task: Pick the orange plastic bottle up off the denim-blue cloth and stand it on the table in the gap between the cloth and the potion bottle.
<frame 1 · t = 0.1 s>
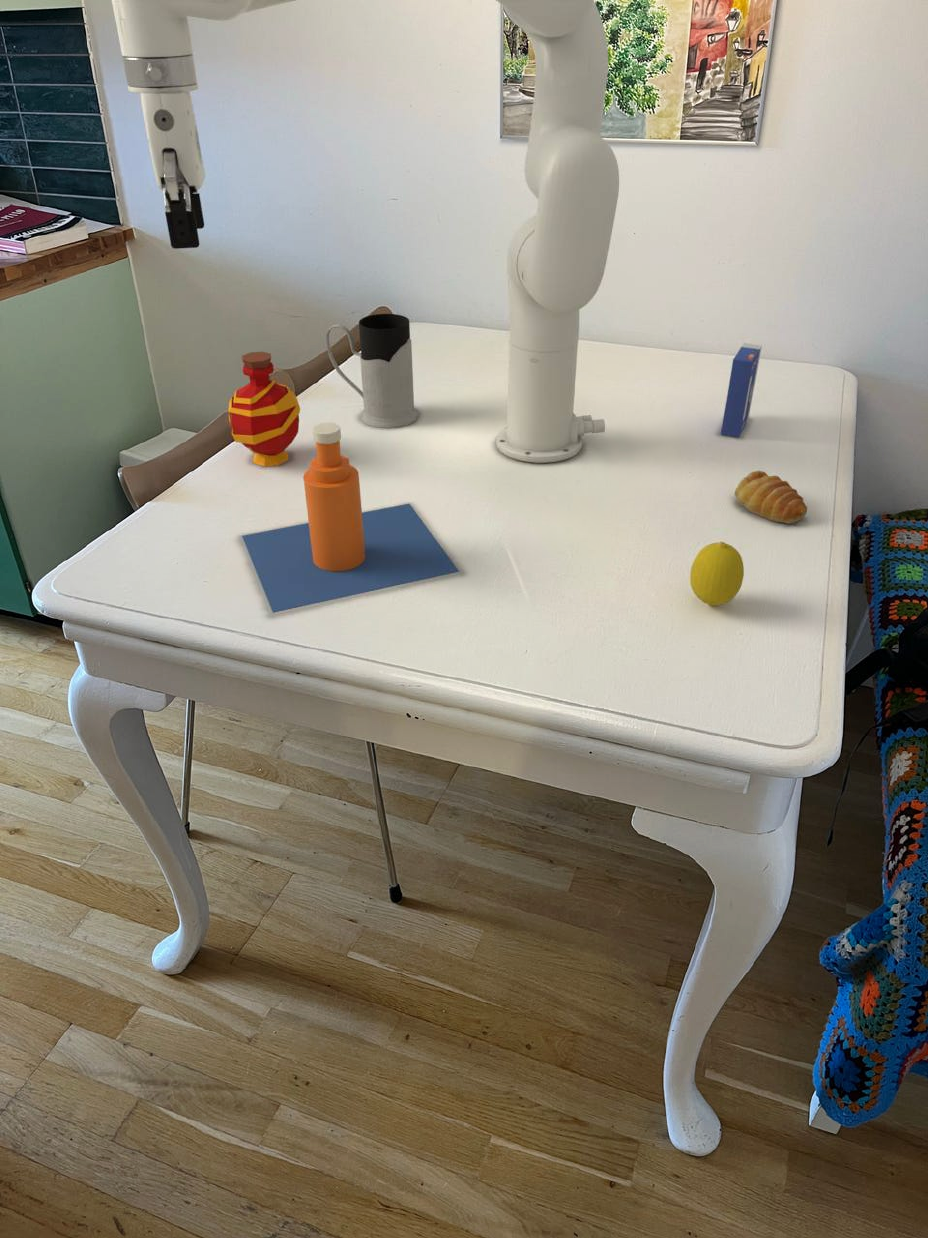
hand: (188, 237, 112), 31 cm above the table, tool pointing down, fingers open, 9 cm apart
walkman: (734, 428, 141), on the table
potion bottle: (271, 459, 134), on the table
pastry: (768, 508, 120), on the table
cloth: (347, 555, 111), on the table
bottle: (339, 557, 110), resting on cloth
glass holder: (373, 415, 146), on the table
lemon: (711, 606, 102), on the table
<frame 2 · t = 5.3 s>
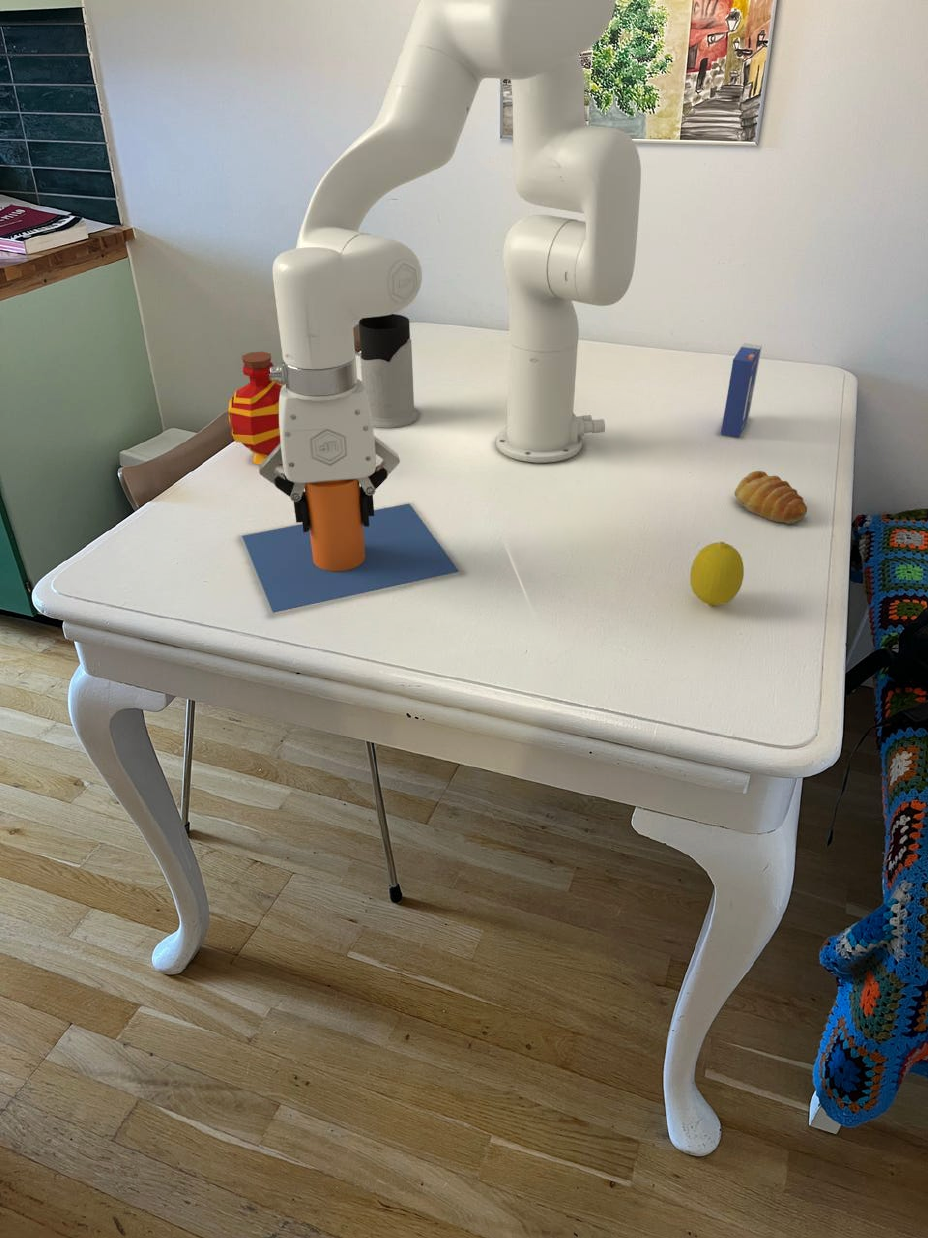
hand: (335, 522, 107), 5 cm above the table, tool pointing down, fingers closed on bottle, 6 cm apart
bottle: (339, 557, 110), resting on cloth, touching gripper
everything else where it was.
when the fingers open (5 cm above the table, at t = 13.0 s): bottle stays where it is, on the table.
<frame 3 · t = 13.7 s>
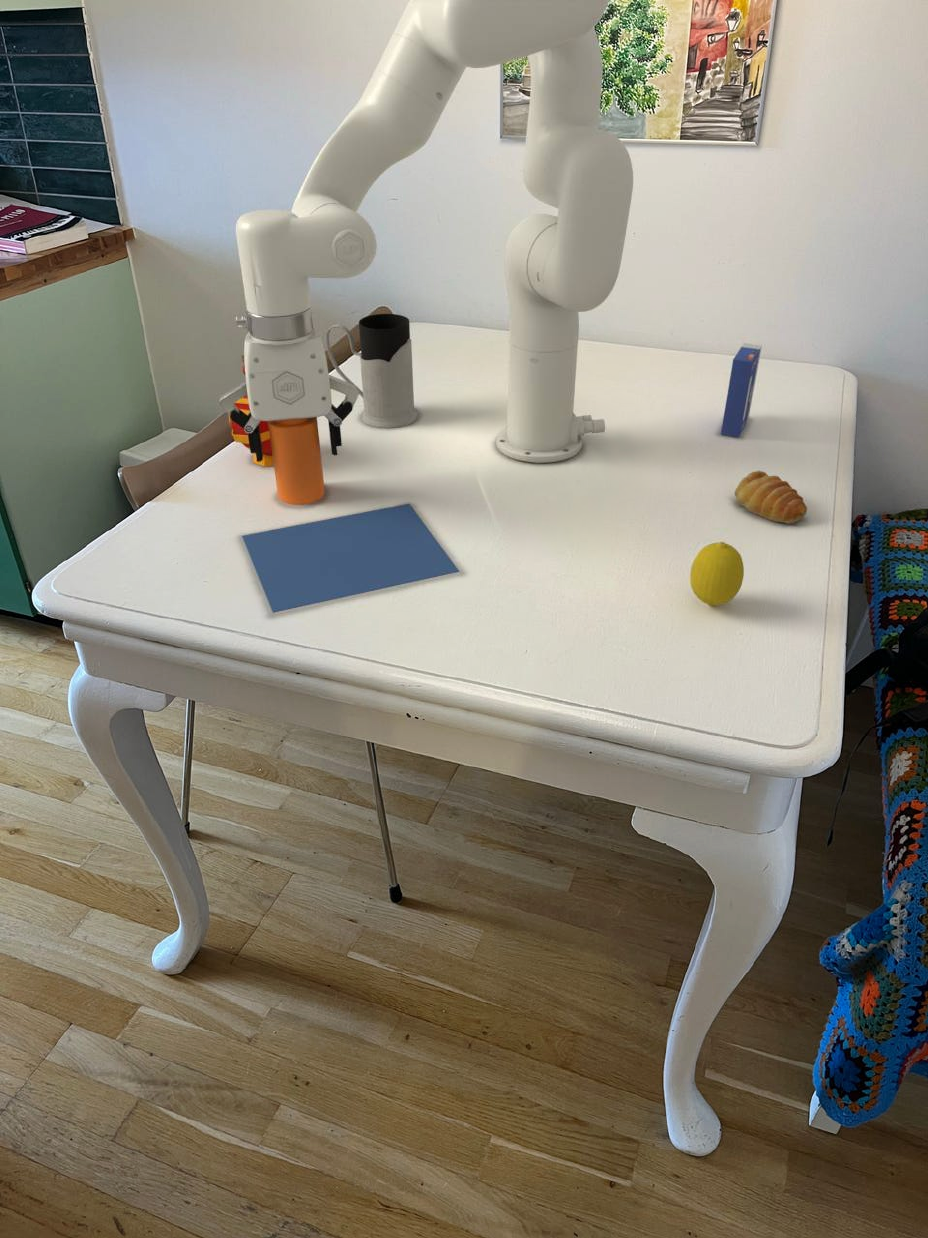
hand: (297, 454, 120), 6 cm above the table, tool pointing down, fingers open, 9 cm apart
bottle: (301, 495, 124), on the table
everything else where it was.
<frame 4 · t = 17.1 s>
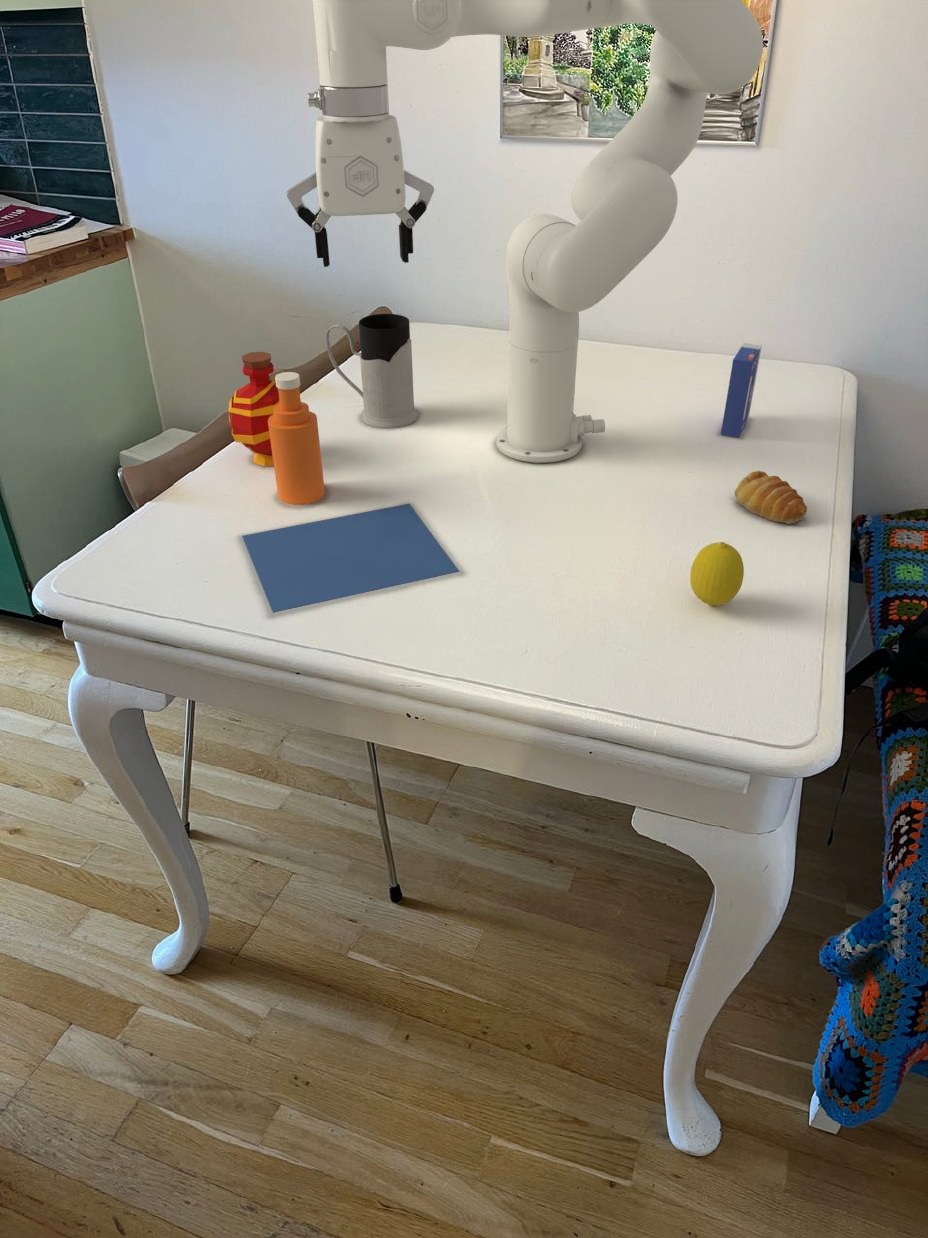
hand: (365, 261, 113), 28 cm above the table, tool pointing down, fingers open, 9 cm apart
nothing on the table moved.
at the end: bottle touching table; bottle inside the target area (0.0 cm from its centre), on the table; bottle tilted 0° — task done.
